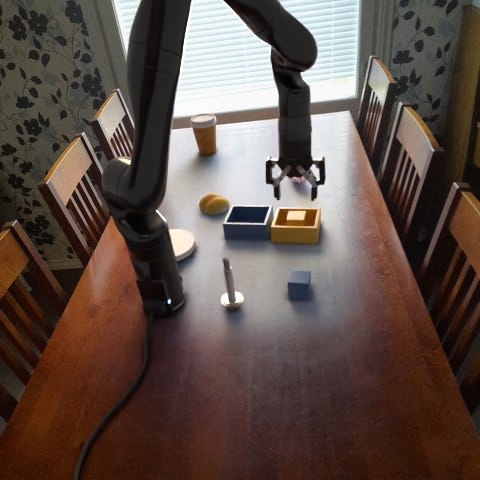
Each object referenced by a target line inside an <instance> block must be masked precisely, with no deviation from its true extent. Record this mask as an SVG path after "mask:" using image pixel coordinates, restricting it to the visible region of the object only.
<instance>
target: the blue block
mask: <svg viewBox="0 0 480 480" xmlns="http://www.w3.org/2000/svg"><path fill="white" fill-rule="evenodd" d="M311 290H312V271H311V270H295V269H291V270H290V271H289V275H288V280H287V294H288V295H287V296H288V299H291V300H305V301H308V300H310V295H311Z"/></svg>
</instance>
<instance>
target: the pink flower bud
mask: <svg viewBox="0 0 480 480" xmlns="http://www.w3.org/2000/svg"><path fill="white" fill-rule="evenodd" d="M288 179H289V180H290V181H292V182H294V183H299V184H301V182H304V183H306V182H307V180H306V179H305V178H304V176H303V177H301V178H297V177H293V178H288Z"/></svg>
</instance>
